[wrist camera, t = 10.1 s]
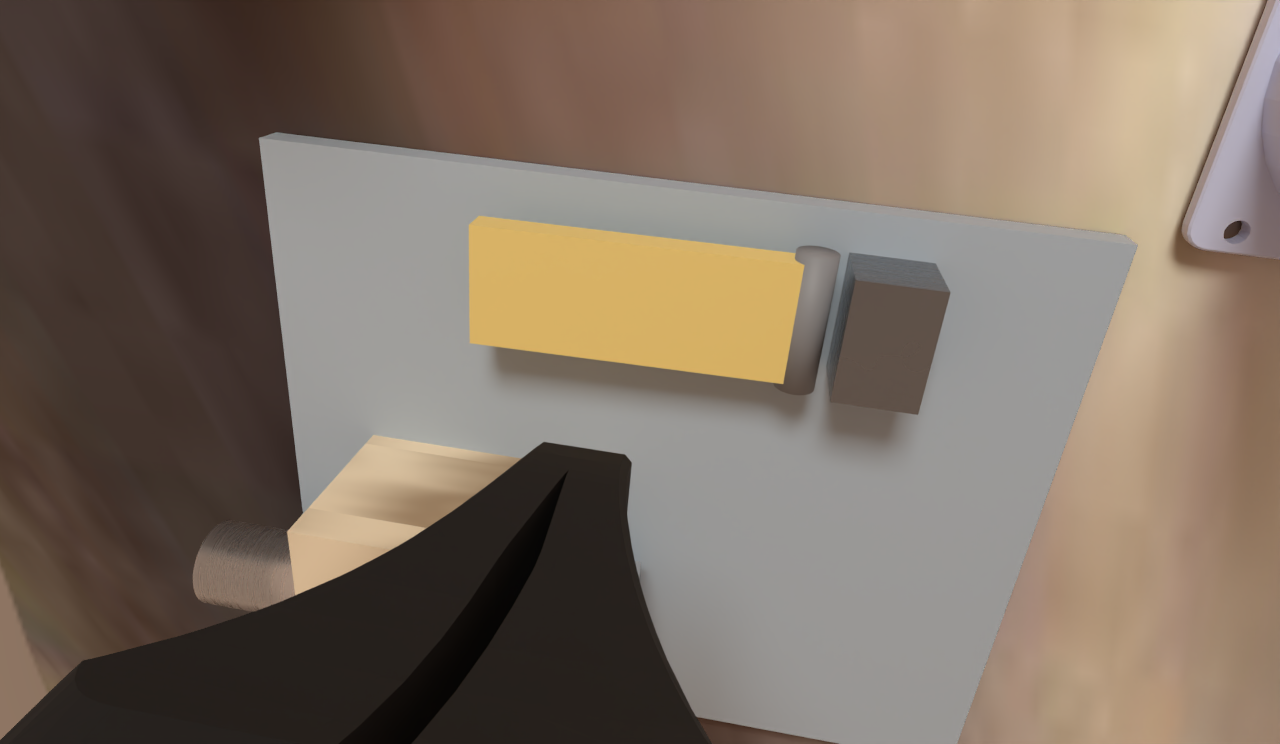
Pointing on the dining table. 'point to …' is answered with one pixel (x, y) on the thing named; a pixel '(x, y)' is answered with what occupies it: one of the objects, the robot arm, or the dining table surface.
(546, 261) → the tab
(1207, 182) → the robot arm
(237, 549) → the pin
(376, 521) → the block
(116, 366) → the dining table surface
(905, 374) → the block
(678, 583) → the board
